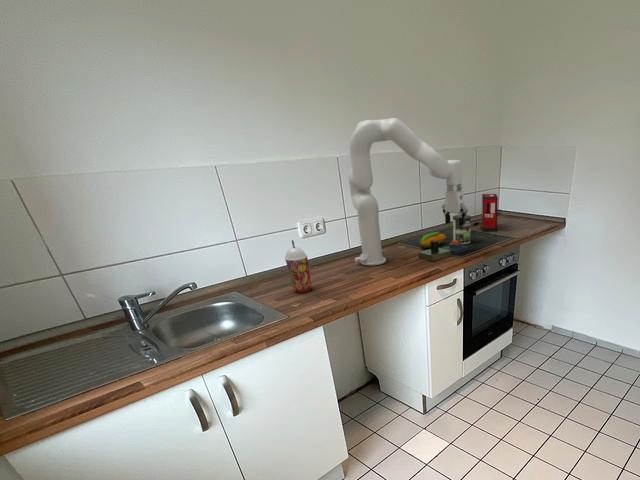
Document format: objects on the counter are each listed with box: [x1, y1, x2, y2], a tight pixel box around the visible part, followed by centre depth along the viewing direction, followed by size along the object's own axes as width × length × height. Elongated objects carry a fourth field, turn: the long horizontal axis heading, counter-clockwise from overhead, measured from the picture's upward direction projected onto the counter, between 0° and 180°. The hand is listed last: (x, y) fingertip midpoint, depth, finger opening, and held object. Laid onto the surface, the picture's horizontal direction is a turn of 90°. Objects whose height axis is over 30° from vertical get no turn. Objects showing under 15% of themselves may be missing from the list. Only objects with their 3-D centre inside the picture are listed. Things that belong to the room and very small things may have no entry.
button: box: [451, 239, 459, 245], centre depth 202 cm, size 4×4×2 cm
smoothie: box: [284, 239, 312, 293], centre depth 152 cm, size 8×8×20 cm
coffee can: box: [452, 214, 472, 245], centre depth 218 cm, size 10×10×14 cm
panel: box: [418, 247, 452, 263], centre depth 194 cm, size 13×10×3 cm
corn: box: [419, 231, 447, 249], centre depth 213 cm, size 7×8×20 cm
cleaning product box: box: [481, 193, 499, 232], centre depth 246 cm, size 16×9×20 cm, turn 178°
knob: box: [430, 240, 440, 252], centre depth 192 cm, size 4×4×5 cm
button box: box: [442, 242, 469, 256], centre depth 203 cm, size 11×9×4 cm
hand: (454, 224), depth 197 cm, fingers open, 9 cm apart
